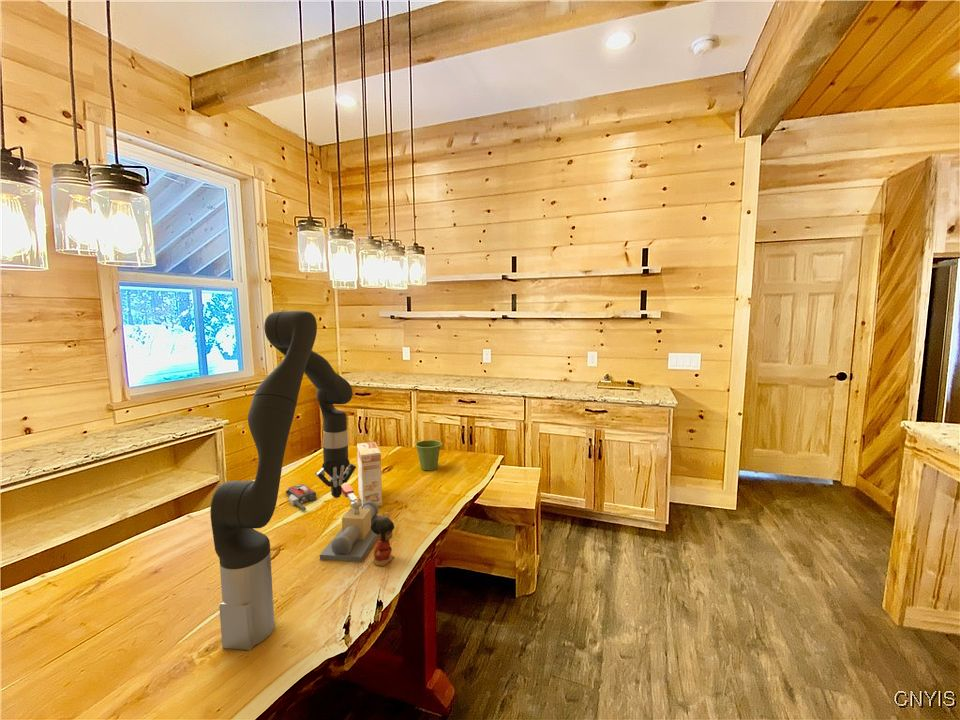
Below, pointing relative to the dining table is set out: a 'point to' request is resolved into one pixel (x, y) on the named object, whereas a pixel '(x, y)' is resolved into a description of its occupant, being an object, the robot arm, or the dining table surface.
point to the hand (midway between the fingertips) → (336, 496)
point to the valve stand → (354, 535)
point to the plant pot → (428, 453)
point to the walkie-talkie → (300, 495)
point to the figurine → (382, 541)
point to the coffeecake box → (369, 473)
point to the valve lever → (351, 496)
